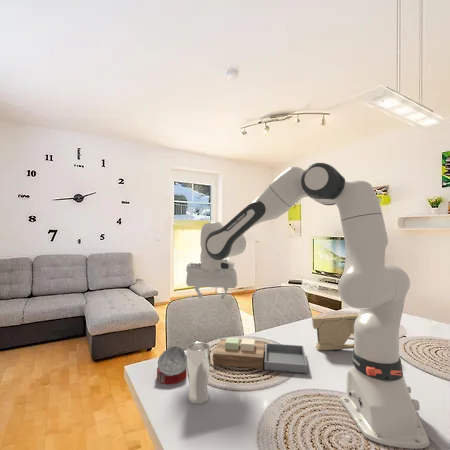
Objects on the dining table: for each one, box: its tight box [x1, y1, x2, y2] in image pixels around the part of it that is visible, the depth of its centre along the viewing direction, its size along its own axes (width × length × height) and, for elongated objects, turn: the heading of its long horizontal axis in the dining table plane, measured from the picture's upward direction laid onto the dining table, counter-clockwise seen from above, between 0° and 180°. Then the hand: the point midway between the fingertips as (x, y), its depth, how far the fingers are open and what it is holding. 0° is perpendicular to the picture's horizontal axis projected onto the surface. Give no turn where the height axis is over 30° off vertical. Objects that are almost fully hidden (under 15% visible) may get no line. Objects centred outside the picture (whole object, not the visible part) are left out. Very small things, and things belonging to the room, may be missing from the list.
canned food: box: [156, 346, 188, 385], centre depth 94 cm, size 11×10×10 cm
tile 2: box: [241, 338, 256, 351], centre depth 106 cm, size 5×5×2 cm
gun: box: [311, 313, 359, 352], centre depth 113 cm, size 24×3×15 cm, turn 84°
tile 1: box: [225, 337, 241, 350], centre depth 107 cm, size 5×5×2 cm
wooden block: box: [212, 338, 266, 370], centre depth 107 cm, size 14×18×4 cm
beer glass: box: [186, 341, 211, 405], centre depth 82 cm, size 7×7×15 cm
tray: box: [264, 342, 309, 375], centre depth 104 cm, size 16×14×3 cm
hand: (211, 298), depth 110 cm, fingers open, 8 cm apart
